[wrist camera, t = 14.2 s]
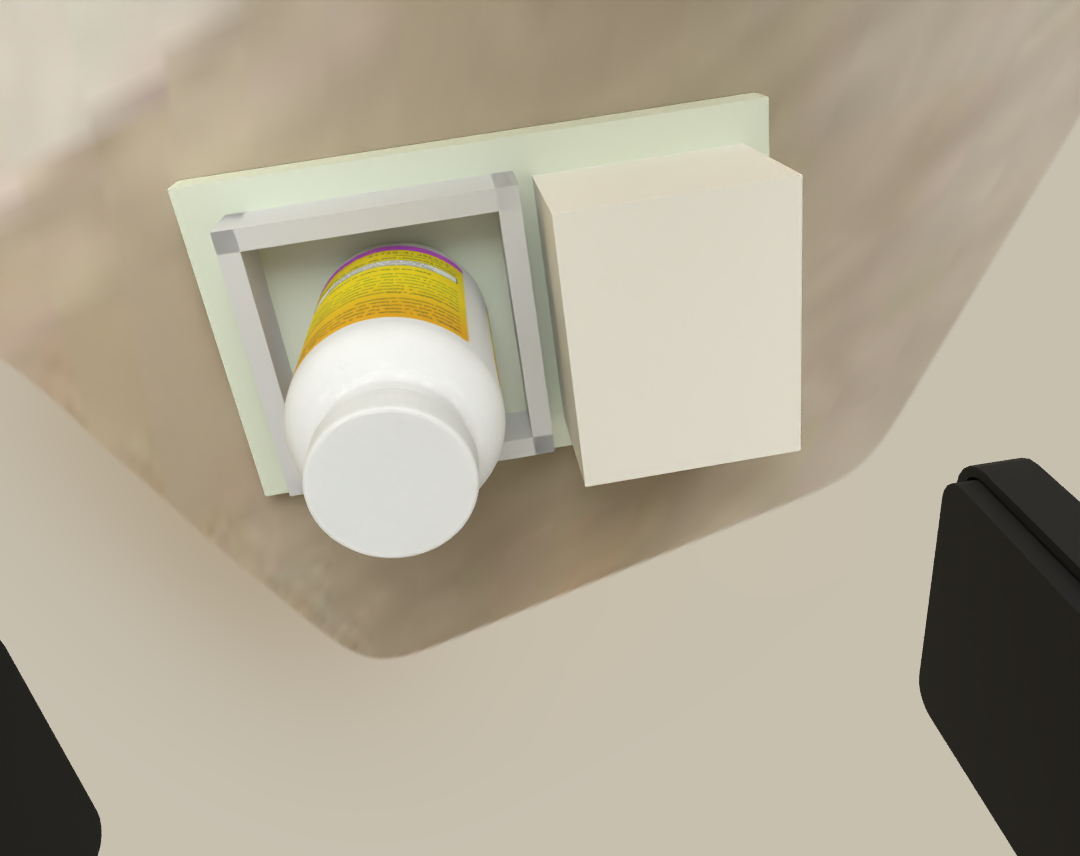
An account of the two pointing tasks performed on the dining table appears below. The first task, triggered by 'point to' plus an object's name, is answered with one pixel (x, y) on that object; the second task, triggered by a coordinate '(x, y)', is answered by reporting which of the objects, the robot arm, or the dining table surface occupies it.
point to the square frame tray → (543, 278)
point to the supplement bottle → (396, 402)
